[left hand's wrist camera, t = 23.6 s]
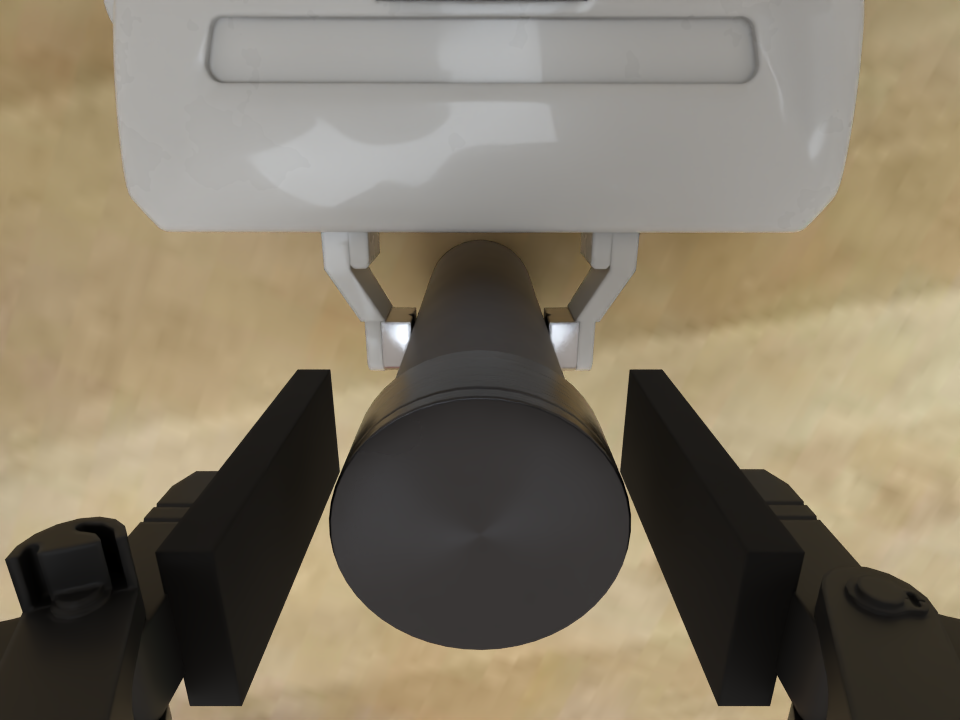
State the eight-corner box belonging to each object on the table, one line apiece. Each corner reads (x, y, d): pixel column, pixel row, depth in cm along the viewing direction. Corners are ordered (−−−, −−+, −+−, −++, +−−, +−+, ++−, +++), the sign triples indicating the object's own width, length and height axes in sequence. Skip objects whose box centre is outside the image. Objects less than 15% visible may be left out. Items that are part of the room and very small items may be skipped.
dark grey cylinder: (525, 342, 27) (583, 611, 12) (426, 335, 27) (357, 596, 12) (536, 244, 26) (619, 407, 10) (432, 235, 26) (359, 387, 10)
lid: (382, 582, 13) (364, 665, 11) (328, 368, 12) (295, 419, 10) (614, 554, 13) (639, 634, 11) (595, 331, 11) (621, 376, 9)
